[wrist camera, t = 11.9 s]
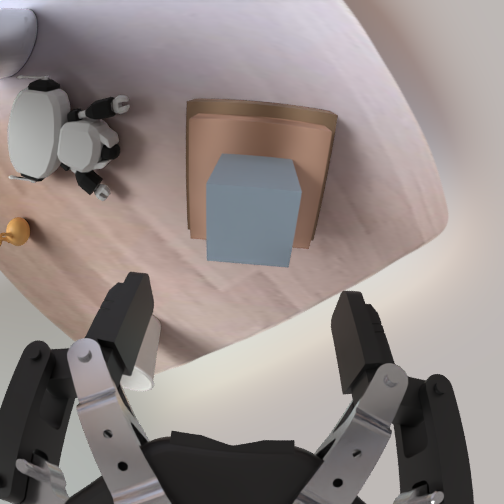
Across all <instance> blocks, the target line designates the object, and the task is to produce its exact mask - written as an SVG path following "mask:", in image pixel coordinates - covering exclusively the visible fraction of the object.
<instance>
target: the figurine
mask: <svg viewBox="0 0 504 504" xmlns="http://www.w3.org/2000/svg"><path fill="white" fill-rule="evenodd" d="M29 235H30V227H29V224H28V222H27V221H26V220H25V219H23V218H20V217H17V218H14V219H12V220H11V221H10V222H9V224H8V226H7V230H6V233H1V234H0V246H1V244H2V241H7V242H8V243H11V244H13V245H15V246H21V245H23V244H24V243H26V241H27V240H28V238H29ZM2 236H6V237H2Z"/></svg>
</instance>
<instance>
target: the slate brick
mask: <svg viewBox="0 0 504 504" xmlns="http://www.w3.org/2000/svg"><path fill="white" fill-rule="evenodd" d="M301 194H302V191H301V187H300V184H299V181H298V177H297V174H296V170H295V167H294V164H293V161H292V159H284V158H274V157H264V156H252V155H239V154H223V153H222V155H221V156H220V158H219V160H218V162H217V164H216V166H215V168H214V170H213V172H212V174H211V175H210V177H209V179H208V181H207V183H206V240H207V260H208V261H219V262H231V263H242V264H254V265H266V266H278V267H289V261H290V256H291V251H292V245H293V240H294V235H295V229H296V223H297V218H298V212H299V206H300V200H301Z"/></svg>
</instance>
